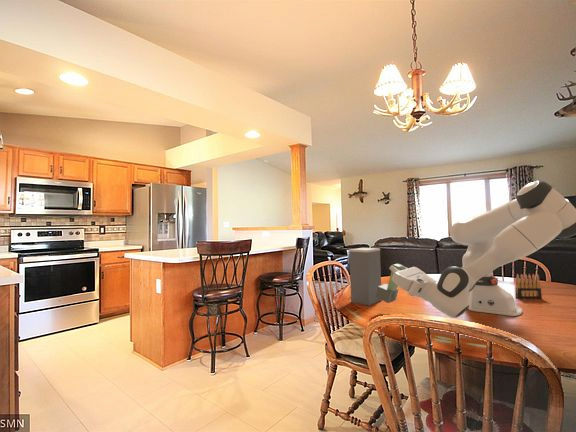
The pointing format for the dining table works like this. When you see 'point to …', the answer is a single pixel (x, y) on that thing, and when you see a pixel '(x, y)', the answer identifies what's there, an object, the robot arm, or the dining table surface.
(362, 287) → the stand
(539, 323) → the dining table surface
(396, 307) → the dining table surface
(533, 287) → the ammunition clip
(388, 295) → the green l-shaped block
